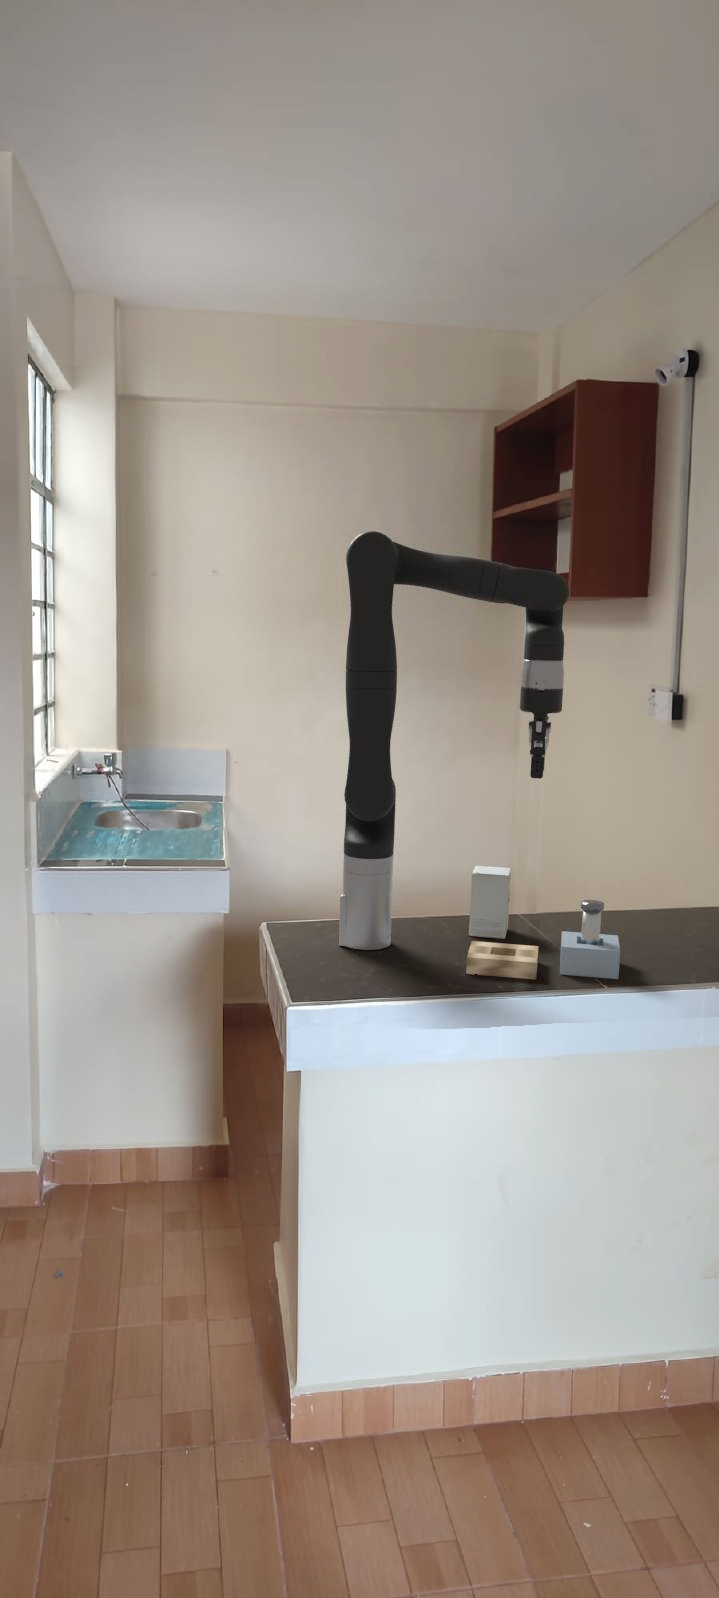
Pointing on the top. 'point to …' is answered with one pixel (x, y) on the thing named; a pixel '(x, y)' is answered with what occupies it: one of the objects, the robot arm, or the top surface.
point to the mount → (502, 960)
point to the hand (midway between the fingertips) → (537, 774)
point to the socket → (589, 956)
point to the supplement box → (489, 901)
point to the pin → (591, 921)
